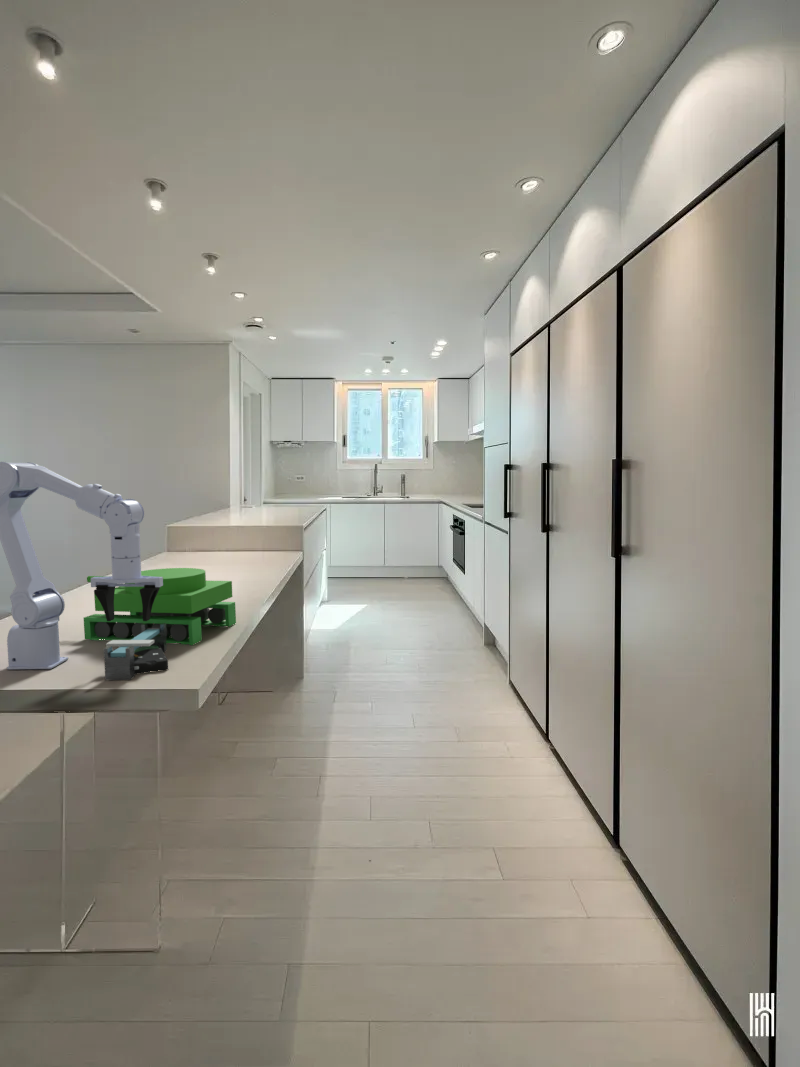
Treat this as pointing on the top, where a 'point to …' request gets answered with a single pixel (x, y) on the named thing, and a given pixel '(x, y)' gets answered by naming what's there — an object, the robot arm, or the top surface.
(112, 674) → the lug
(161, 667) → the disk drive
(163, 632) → the hinge bracket
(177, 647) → the top surface
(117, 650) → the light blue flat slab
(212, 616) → the tank
